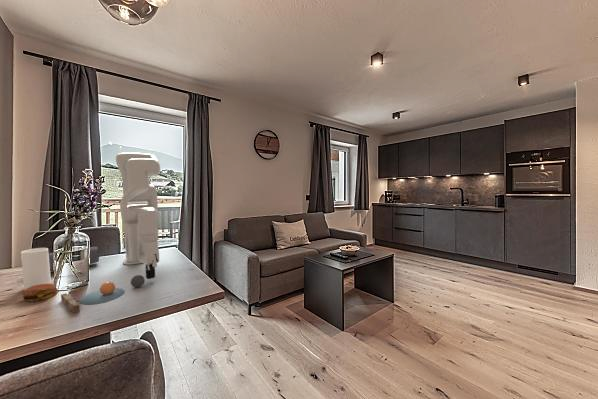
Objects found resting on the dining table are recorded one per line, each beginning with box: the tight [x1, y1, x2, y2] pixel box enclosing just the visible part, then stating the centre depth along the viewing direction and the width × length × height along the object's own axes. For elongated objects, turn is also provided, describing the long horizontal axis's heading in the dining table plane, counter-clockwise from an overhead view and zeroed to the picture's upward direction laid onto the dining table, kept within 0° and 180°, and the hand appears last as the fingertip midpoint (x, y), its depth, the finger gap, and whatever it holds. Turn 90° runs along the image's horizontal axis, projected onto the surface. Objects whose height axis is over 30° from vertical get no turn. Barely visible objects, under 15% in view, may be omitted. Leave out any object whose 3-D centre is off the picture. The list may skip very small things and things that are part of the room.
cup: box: [20, 247, 52, 291], centre depth 113 cm, size 8×8×16 cm
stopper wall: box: [60, 292, 81, 314], centre depth 96 cm, size 16×2×2 cm, turn 54°
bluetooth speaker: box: [48, 246, 100, 272], centre depth 136 cm, size 23×9×10 cm, turn 134°
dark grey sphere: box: [130, 274, 146, 288], centre depth 112 cm, size 5×5×5 cm
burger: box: [22, 283, 58, 302], centre depth 103 cm, size 10×9×5 cm
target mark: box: [79, 287, 125, 305], centre depth 104 cm, size 14×14×1 cm
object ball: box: [99, 281, 116, 295], centre depth 105 cm, size 5×5×5 cm
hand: (150, 277), depth 118 cm, fingers closed
